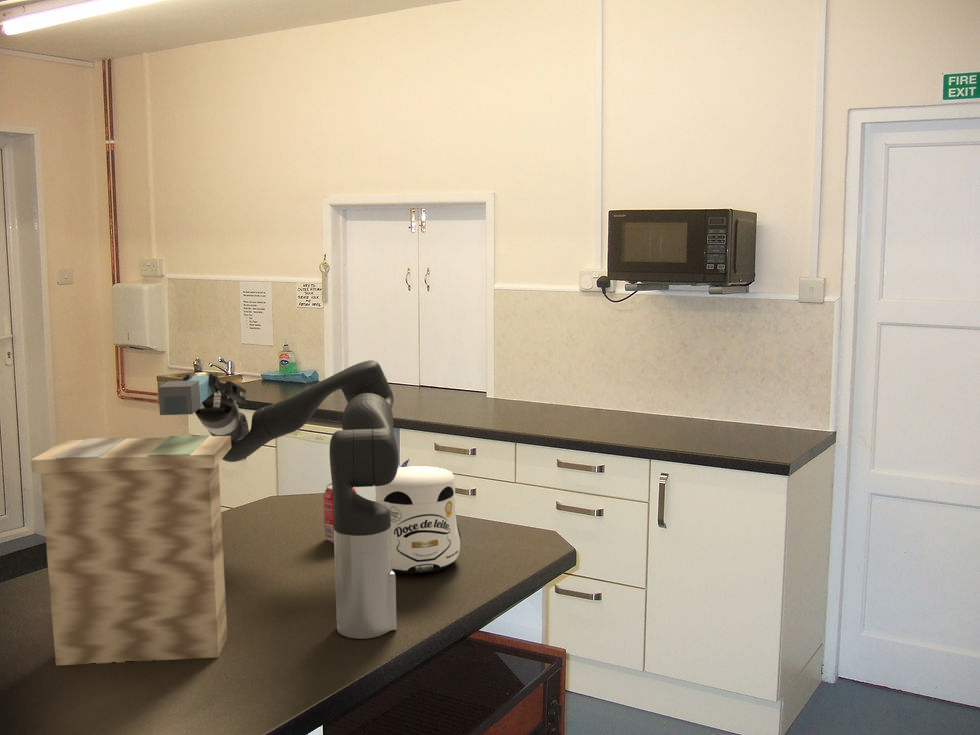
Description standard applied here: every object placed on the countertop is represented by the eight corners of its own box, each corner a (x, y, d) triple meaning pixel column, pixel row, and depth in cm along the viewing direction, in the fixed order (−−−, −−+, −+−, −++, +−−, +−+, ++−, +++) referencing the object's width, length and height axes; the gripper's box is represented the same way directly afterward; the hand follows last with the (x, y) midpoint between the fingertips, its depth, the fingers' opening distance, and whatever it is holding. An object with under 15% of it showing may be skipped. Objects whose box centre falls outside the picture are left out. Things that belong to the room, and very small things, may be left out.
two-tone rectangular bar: (219, 391, 163) (217, 367, 162) (192, 414, 141) (190, 386, 141) (191, 392, 162) (189, 367, 162) (159, 415, 141) (158, 387, 140)
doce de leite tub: (420, 588, 163) (418, 493, 161) (354, 567, 174) (351, 478, 171) (478, 560, 177) (477, 473, 175) (413, 543, 187) (412, 460, 185)
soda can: (363, 535, 193) (362, 482, 191) (349, 546, 186) (348, 491, 184) (333, 533, 194) (332, 479, 193) (319, 543, 188) (317, 488, 186)
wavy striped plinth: (239, 622, 149) (230, 434, 144) (224, 658, 136) (213, 453, 132) (78, 630, 146) (64, 439, 142) (47, 667, 134) (30, 458, 129)
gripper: (253, 428, 173) (238, 397, 157) (179, 430, 172) (156, 400, 156) (255, 391, 176) (240, 358, 160) (181, 393, 174) (159, 360, 159)
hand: (198, 379), depth 158 cm, fingers closed on two-tone rectangular bar, 3 cm apart
